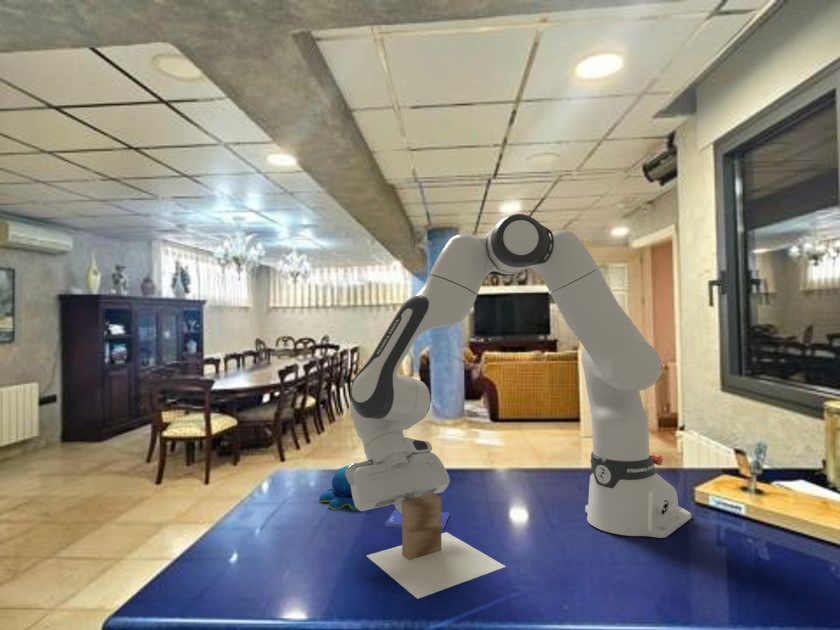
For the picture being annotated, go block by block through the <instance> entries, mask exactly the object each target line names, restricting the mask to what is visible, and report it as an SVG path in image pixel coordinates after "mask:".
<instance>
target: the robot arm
mask: <svg viewBox="0 0 840 630" xmlns="http://www.w3.org/2000/svg"><path fill="white" fill-rule="evenodd" d="M527 269H531V270H533V271H535V273H537V274H538V275H539V276H540V277H541V279H543V281H544V283H545V286H546V288H547V290H548V292H549V294H550V295H551V297H552V299H553V301H554V302H555V305H556V307H557V309H558V311H559V312H560V314H561V316H562V318H563V320H564V322H565V323H566V325H567V327H568V328H569V329H570V330H571V331H572V332H573V334H574V336H576V338H577V339H578V341H579V343H580V344H581V345H582V347H583V350H582V352H581V364H582V369H583V371H584V380H585V387H586V393H587V398H588V402H589V403H588V404H589V408H590V414H591V415H590V416H591V433H592V435H591V436H592V437H591V438H592V452H591V453H590V470H591V472H592V473H591V475H590V476H589V485H588V486H589V487H588V488H589V489H588V504H586V505H585V506H584V507H585V508H584V511H585V512H586V513H587V516H586V521H587V522H588V523H589V525H591V526H593V527H595V528H597V529H598V530H600V531H603V532H606V533H609V534H614V535H619V536H628V537H651V538H659V539H663V538H667V537H668V536H670V535H671V534H672V533H674V532H675V531H676V530H677V529H678V528H681V526H683V525H684V524H685V523H687V522H688V521H690V520H691V519H692V513H691V512H689V511H688V510H687V509H685V508H683V507H681V506H679V499H678V493H677V489H676V488H675V487H674V486H672V485H671V484H670V483H669V482H668V481H666V479H664V478H663V477H661V475H659V474H658V473H657V469H656V467H655V465H657V466H661V465H663V462H664V458H663V455H657V454H654V453H652V454H650V432H649V418H648V415H647V412H646V410H645V407H644V404H643V400H642V397H641V391H644V390H646V389H649V388H650V387H652V386H653V385H655V384H656V382H658V380H659V378H660V376H661V373H662V359H661V357H660V355H659V354H660V353H658V352H657V350H656V349H655V348H654V347H653V345H651V344H650V343H649V342H648V341H647V340H646V338H645V337H644V336H643V334H642V333H641V331H640V330H639V329H638V328H637V326H636V325H635V323H634V322H633V321H632V319H631V318H630V317H629V315H628V314H627V313H626V312H625V311H624V309H623V308H622V306H621V305H620V304H619V302H618V301H617V299H616V297H615V296H614V294H613V292H612V290H611V288H610V286H609V285H608V282H607V281H606V280H605V277H604V275H603V274H602V272H601V270H600V268H599V266H598V264H597V263H596V261H595V259H594V258H593V256H592V254H591V253H590V251H589V250H588V249H587V247H586V246H585V245H584V243H583V242H582V240H580V239H579V237H578V236H577V235H576V234H575V233H574V232H573V231H570V230H568V229H559V230H555V231H552V230H551V229H549V228H547V227H546V226H544V225H543V224H541V222H539V221H538V220H536V219H535V218H533V217H532V216H530V215H527V214H523V213H514V214H511V215H507V216H505V217H502V218H501V219H499V221H498V222H497V223H496V224H495V225H494V226H493V227H492V229H491V230H490V232H489V233H488V235H486V236H484V237H483V238H479V237H476V236H473V235H469V234H456V235H454V236H452V237H451V238H450V239H449V240H448V241H447V242H446V243H445V245H444V247H443V249H442V250H441V252H440V253H439V255H438V256H437V258H436V260H435V263H434V264H433V266H432V268H431V270H430V273H429V274H428V277H427V279H426V281H425V282H424V285H423V286H422V287H421V288H420V289H419V290H418V291H417V293H416V294H415V295H413V296H411V297H409V298H408V299H406V301H405V302H404V303H403V304H402V306H401V307H400V308H399V310H398V312H396V315H395V316H394V318H393V319H392V321H391V323H390V324H389V326H388V328H387V329H386V331H385V333H384V335H383V336H382V338H381V339H380V341H379V342H378V344H377V346H376V347H375V349H374V351H373V353H372V354H371V356H370V357H369V358H368V360H367V362H366V363H365V364H364V365H363V366H362V367H361V369H359V371H358V372H357V373H356V376H355V377H354V378H353V380H352V382H351V385H350V392H349V393H350V406H349V408H350V416H351V419H352V423H353V427H354V428H355V432H356V434H357V436H358V438H359V439H360V440H361V442H362V445H363V452H364V454H365V457H366V460H365V461H364V460H363V461H360V462H353V463H351V464H349V465H350V466H349V465H348V466H349V467H348V468H347V469H346V471H345V474H346V478H347V481H348V482H349V484H351V491H352V497H353V501H354V504H355V507H356V508H357V509H358V510H357V511H359V512H365V511H369V510H375V509H377V508H378V509H379V508H383V507H386V506H390V505H394V507H395V510H398V511H399V512H401V513H402V500H406V499H411V498H415V497H419V496H423V495H427V494H432V493H435V494H439V493H443V492H444V491H446V489H447V488H448V486H449V484H450V481H451V479H450V476H449V474H448V471H447V469H446V468H445V466H444V464H443V462H442V460H441V459H440V458H439V456H438V455H437V454H436V453H433V452H432V450H433V446H432V444H431V442H430V441H427V440H423V439H421V440H420V439H414V438H410V437H407V436H406V437H405V435H404V431H405V430H408V429H410V428H411V427H414V425H416V424H417V423H419V422H420V421H422V420H424V418H425V417H426V416H427V414H428V412H429V410H430V407H431V403H432V402H431V401H432V400H431V399H432V398H431V397H432V396H431V392H430V389H429V387H428V386H427V384H426V383H425V382H424V381H422V380H419V379H416V378H414V377H411V376H408V375H403V374H399V373H398V371H399V368H400V367H401V366H402V364H403V362H404V360H405V358H406V357H407V355H408V353H409V352H410V350H411V348H412V346H413V344H414V343H415V342H416V340H417V338H419V337H420V336H421V335H422V334H423V333H424V332H427V331H429V330H433V329H438V328H439V329H440V328H447V327H449V328H450V327H451V326H455V325H458V324H459V323H462V322H463V321H464V320H465V319H466V318H467V316H468V315H469V314H470V312H471V310H472V308H473V307H474V305H475V301H476V299H477V296H478V294H479V292H480V289H481V288H482V285H483V283H484V281H485V280H486V278H487V277H488V275H492V276H493V275H495V276H501V277H502V276H503V277H510V276H514V275H517V274H519V273H522V272H524V271H526V270H527Z"/></svg>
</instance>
